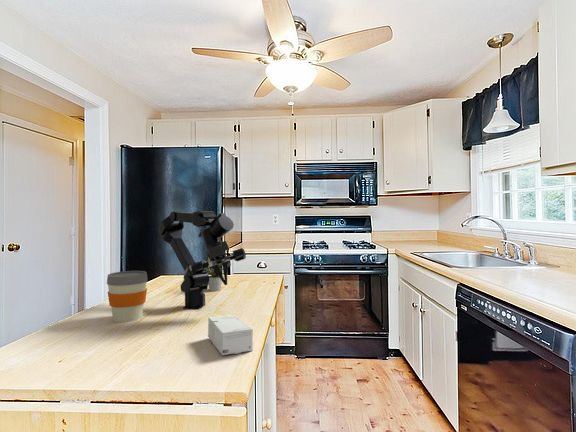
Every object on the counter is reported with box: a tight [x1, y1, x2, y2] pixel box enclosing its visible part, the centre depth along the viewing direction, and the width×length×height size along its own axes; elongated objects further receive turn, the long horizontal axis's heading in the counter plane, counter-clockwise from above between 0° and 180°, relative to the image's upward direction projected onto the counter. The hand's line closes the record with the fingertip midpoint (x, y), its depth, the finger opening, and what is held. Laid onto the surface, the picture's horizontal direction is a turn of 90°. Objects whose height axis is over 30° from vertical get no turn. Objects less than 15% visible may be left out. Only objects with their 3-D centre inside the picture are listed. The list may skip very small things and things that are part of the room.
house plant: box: [202, 257, 225, 292], centre depth 161 cm, size 14×14×16 cm
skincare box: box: [207, 313, 254, 356], centre depth 95 cm, size 8×6×15 cm
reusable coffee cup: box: [106, 270, 149, 323], centre depth 119 cm, size 12×13×15 cm
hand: (226, 284), depth 120 cm, fingers closed
